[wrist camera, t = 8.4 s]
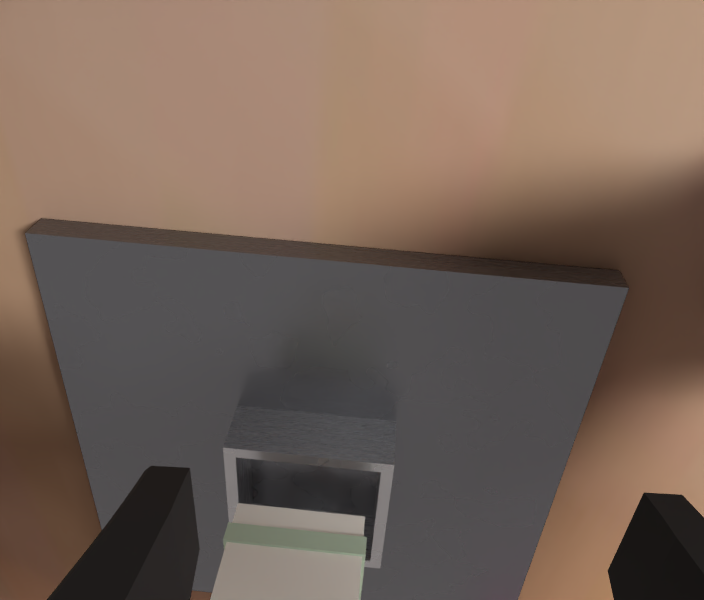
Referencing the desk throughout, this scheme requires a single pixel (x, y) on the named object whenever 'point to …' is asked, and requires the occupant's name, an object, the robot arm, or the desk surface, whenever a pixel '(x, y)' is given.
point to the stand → (331, 388)
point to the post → (291, 555)
